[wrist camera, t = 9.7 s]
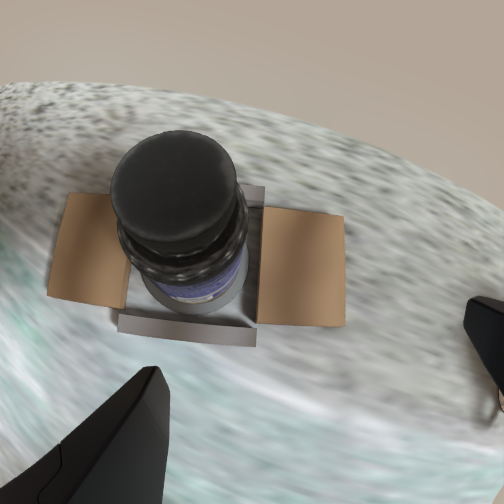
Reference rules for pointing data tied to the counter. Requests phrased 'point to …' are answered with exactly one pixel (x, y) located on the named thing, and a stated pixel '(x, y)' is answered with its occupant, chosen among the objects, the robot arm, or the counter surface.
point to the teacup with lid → (501, 400)
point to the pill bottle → (181, 214)
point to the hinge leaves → (268, 287)
